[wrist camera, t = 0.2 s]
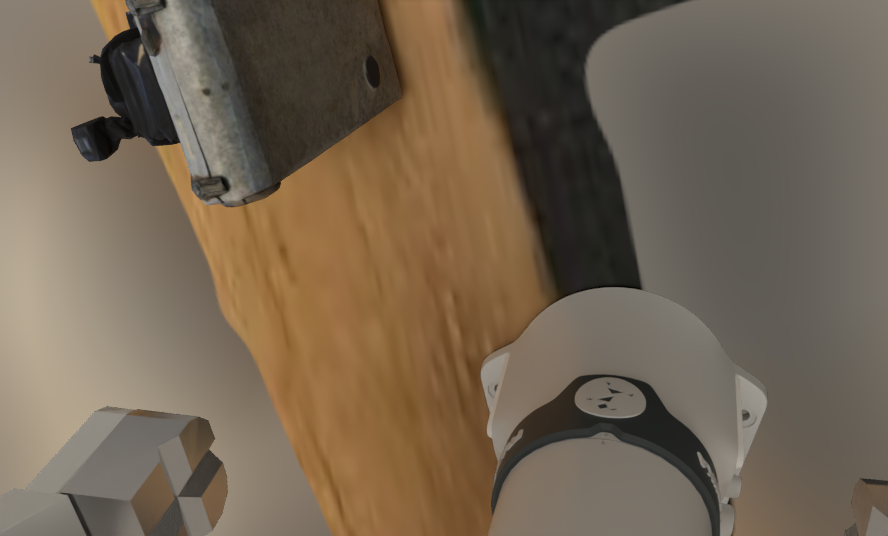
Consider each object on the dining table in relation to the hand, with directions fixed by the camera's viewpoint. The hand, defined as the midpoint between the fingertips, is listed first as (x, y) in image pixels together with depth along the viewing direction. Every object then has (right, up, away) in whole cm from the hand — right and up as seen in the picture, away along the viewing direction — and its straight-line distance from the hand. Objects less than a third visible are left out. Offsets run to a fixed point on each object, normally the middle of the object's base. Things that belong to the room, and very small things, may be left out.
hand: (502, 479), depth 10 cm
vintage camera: (-11, +17, +41) cm, 45 cm away
